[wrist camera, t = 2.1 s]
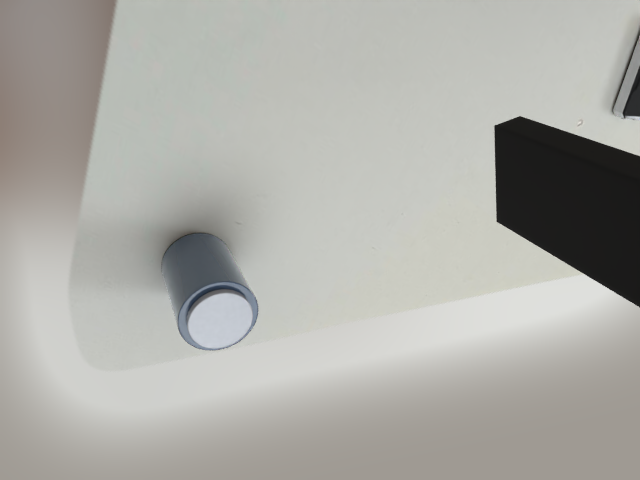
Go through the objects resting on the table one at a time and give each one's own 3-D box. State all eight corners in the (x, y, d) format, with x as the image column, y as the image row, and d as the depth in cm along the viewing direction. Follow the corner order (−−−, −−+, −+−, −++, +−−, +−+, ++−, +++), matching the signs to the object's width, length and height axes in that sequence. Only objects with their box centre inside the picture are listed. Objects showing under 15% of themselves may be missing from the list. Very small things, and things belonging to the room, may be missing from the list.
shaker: (175, 304, 39) (194, 367, 33) (150, 248, 36) (166, 306, 30) (239, 278, 40) (269, 335, 34) (219, 222, 37) (248, 273, 31)
